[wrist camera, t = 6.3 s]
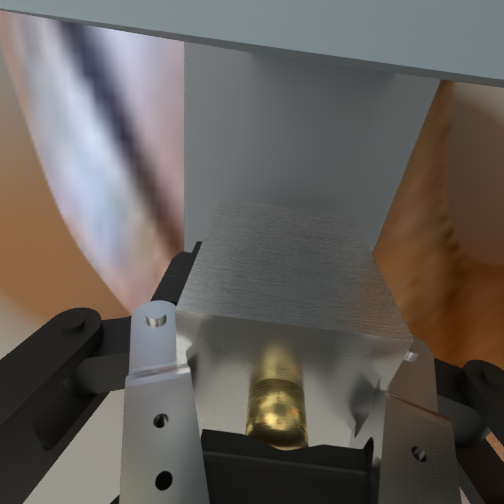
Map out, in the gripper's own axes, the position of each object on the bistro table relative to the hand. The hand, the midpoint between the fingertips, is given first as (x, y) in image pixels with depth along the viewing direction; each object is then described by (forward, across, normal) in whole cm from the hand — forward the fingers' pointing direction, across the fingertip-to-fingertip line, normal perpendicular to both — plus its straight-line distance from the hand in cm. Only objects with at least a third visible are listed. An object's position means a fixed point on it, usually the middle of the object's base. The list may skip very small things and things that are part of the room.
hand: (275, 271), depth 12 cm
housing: (+1, 0, 0) cm, 1 cm away
